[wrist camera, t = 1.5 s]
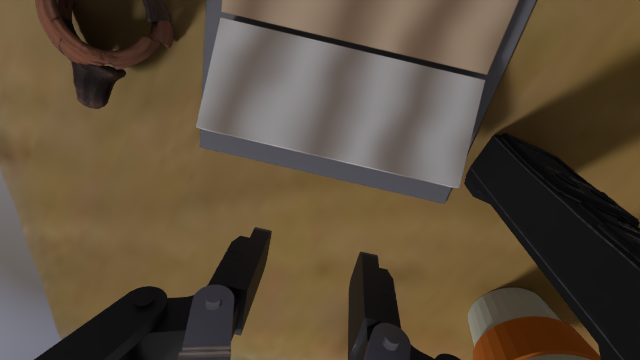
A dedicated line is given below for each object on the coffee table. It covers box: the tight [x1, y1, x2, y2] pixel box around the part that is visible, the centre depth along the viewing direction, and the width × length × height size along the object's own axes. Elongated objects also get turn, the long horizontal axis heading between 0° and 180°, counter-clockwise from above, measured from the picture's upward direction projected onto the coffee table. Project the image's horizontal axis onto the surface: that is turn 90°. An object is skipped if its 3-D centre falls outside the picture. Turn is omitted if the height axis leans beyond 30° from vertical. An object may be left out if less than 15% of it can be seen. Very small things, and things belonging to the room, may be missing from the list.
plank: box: [196, 18, 485, 188], centre depth 27 cm, size 22×9×2 cm
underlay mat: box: [200, 0, 536, 204], centre depth 29 cm, size 26×22×1 cm
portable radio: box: [464, 133, 640, 360], centre depth 20 cm, size 8×6×25 cm
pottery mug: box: [35, 0, 174, 109], centre depth 27 cm, size 12×10×8 cm
